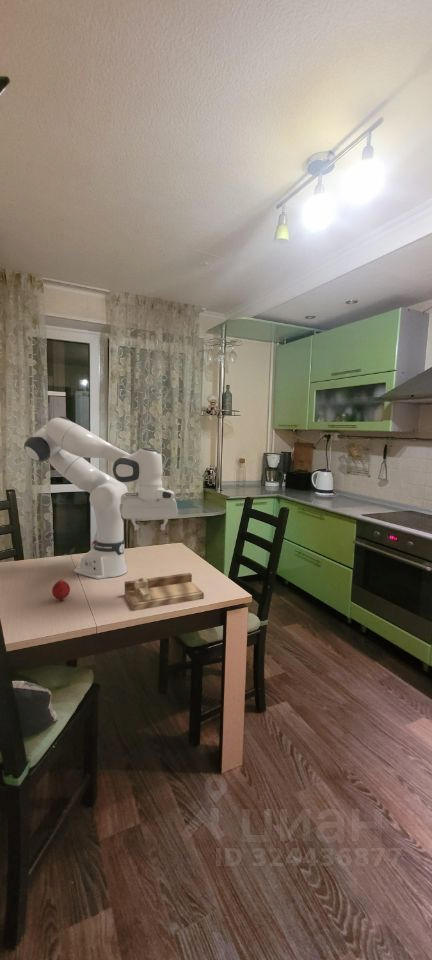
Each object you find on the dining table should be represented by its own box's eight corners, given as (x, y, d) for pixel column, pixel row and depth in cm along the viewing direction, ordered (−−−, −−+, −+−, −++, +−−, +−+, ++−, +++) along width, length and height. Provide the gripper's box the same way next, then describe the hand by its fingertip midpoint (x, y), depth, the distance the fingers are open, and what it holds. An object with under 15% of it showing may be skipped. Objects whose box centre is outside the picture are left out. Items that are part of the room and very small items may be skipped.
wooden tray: (133, 610, 129) (133, 596, 128) (124, 594, 142) (124, 581, 141) (203, 598, 140) (203, 585, 140) (189, 584, 153) (189, 572, 152)
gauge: (141, 601, 131) (141, 587, 130) (134, 591, 140) (134, 577, 139) (152, 600, 133) (152, 585, 132) (145, 589, 142) (145, 576, 141)
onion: (59, 605, 131) (58, 583, 131) (48, 601, 134) (48, 579, 134) (73, 599, 136) (73, 578, 136) (63, 595, 139) (62, 574, 139)
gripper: (120, 493, 134) (120, 532, 135) (178, 493, 137) (177, 531, 139) (121, 491, 140) (121, 528, 141) (177, 491, 144) (176, 527, 145)
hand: (149, 529), depth 140 cm, fingers open, 8 cm apart
